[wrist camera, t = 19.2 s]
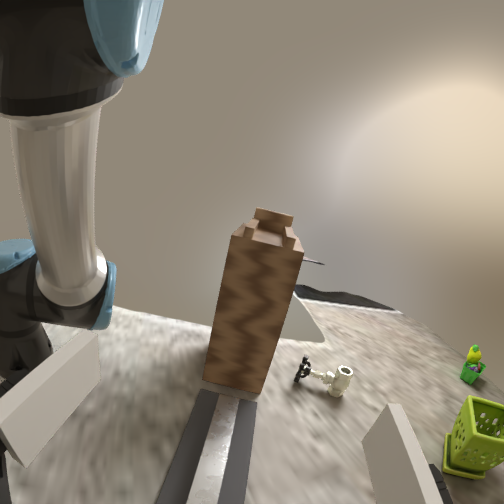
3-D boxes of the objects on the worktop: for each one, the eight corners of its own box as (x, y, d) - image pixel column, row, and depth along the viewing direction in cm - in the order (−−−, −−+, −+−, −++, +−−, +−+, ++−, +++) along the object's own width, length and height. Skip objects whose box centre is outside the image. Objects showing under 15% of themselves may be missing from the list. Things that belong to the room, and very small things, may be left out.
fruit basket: (472, 388, 59) (489, 358, 57) (453, 375, 67) (469, 346, 64) (479, 378, 65) (494, 350, 62) (462, 367, 72) (476, 339, 70)
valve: (344, 387, 58) (298, 371, 62) (355, 365, 57) (307, 349, 61) (341, 403, 52) (291, 386, 56) (353, 381, 51) (300, 363, 55)
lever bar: (181, 522, 21) (182, 515, 20) (216, 406, 45) (219, 393, 44) (209, 529, 21) (212, 522, 20) (235, 411, 45) (239, 398, 44)
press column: (202, 379, 52) (236, 210, 45) (217, 341, 68) (247, 205, 60) (260, 393, 52) (310, 228, 44) (264, 353, 67) (302, 218, 60)
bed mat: (151, 516, 21) (151, 515, 21) (200, 390, 49) (201, 388, 49) (238, 537, 20) (238, 536, 20) (256, 404, 48) (257, 402, 48)
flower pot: (437, 435, 41) (468, 392, 38) (479, 447, 34) (511, 406, 31) (433, 478, 29) (474, 433, 26) (481, 488, 22) (523, 445, 20)
